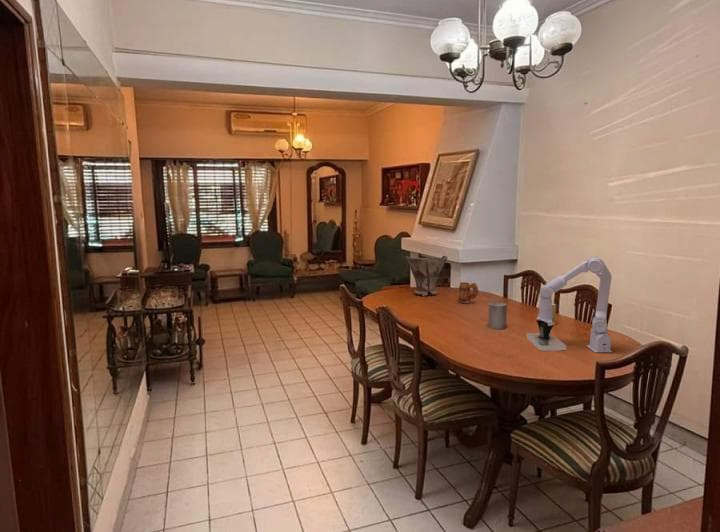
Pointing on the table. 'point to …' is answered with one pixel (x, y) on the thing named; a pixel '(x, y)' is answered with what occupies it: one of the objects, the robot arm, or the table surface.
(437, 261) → the vessel
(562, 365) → the table surface
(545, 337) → the bushing
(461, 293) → the mug
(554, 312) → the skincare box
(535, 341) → the plate
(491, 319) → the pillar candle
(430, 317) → the table surface
